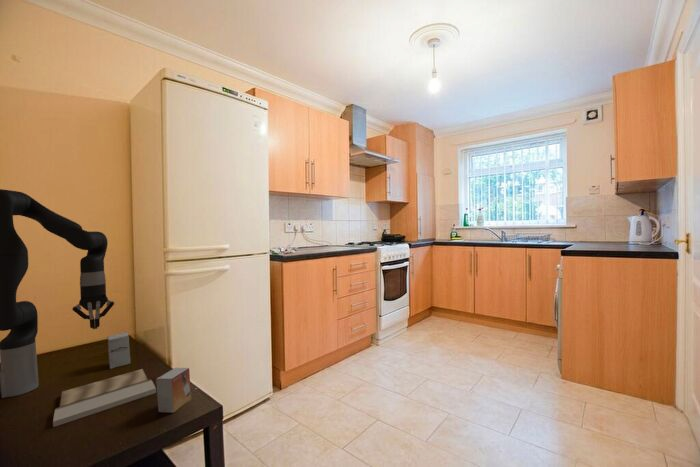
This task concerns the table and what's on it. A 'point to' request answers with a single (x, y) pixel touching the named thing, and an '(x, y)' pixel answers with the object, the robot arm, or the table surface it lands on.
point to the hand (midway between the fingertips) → (94, 328)
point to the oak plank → (102, 387)
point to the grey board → (102, 402)
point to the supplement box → (118, 350)
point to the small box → (173, 390)
